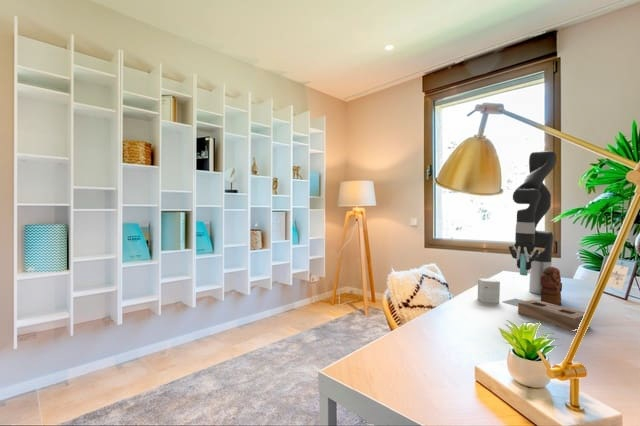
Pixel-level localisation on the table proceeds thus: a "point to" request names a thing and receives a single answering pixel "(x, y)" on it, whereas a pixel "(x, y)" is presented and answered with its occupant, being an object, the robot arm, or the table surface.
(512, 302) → the mat
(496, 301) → the small box
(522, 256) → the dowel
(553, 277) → the wooden figurine
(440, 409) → the table surface
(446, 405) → the table surface
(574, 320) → the socket block
